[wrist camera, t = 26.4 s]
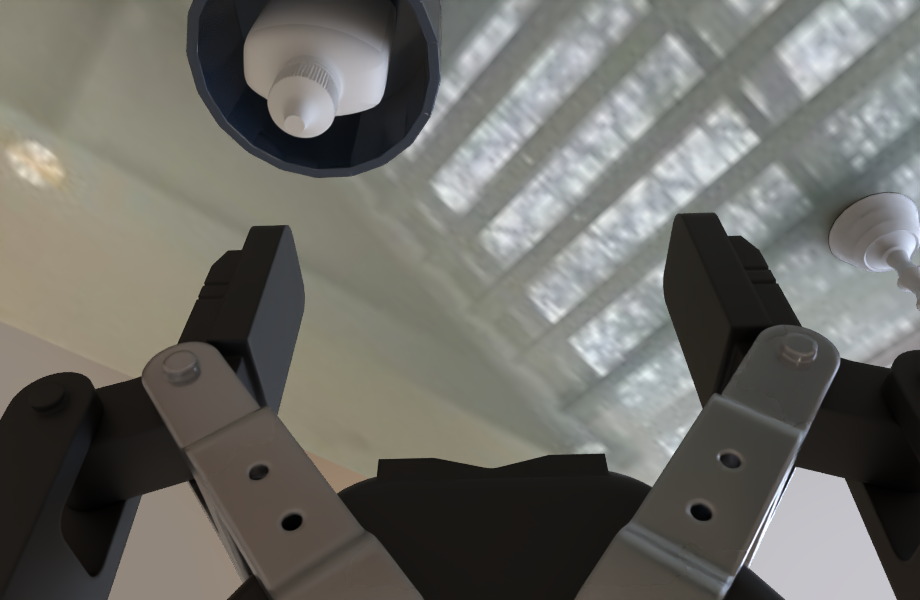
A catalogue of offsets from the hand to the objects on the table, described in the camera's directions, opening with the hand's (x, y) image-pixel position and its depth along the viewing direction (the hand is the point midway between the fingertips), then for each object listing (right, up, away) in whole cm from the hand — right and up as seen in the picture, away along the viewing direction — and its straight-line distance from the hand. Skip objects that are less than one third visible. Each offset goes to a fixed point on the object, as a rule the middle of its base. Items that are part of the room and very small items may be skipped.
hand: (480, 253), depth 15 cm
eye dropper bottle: (-6, +13, +19) cm, 24 cm away
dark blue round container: (-6, +13, +19) cm, 24 cm away
